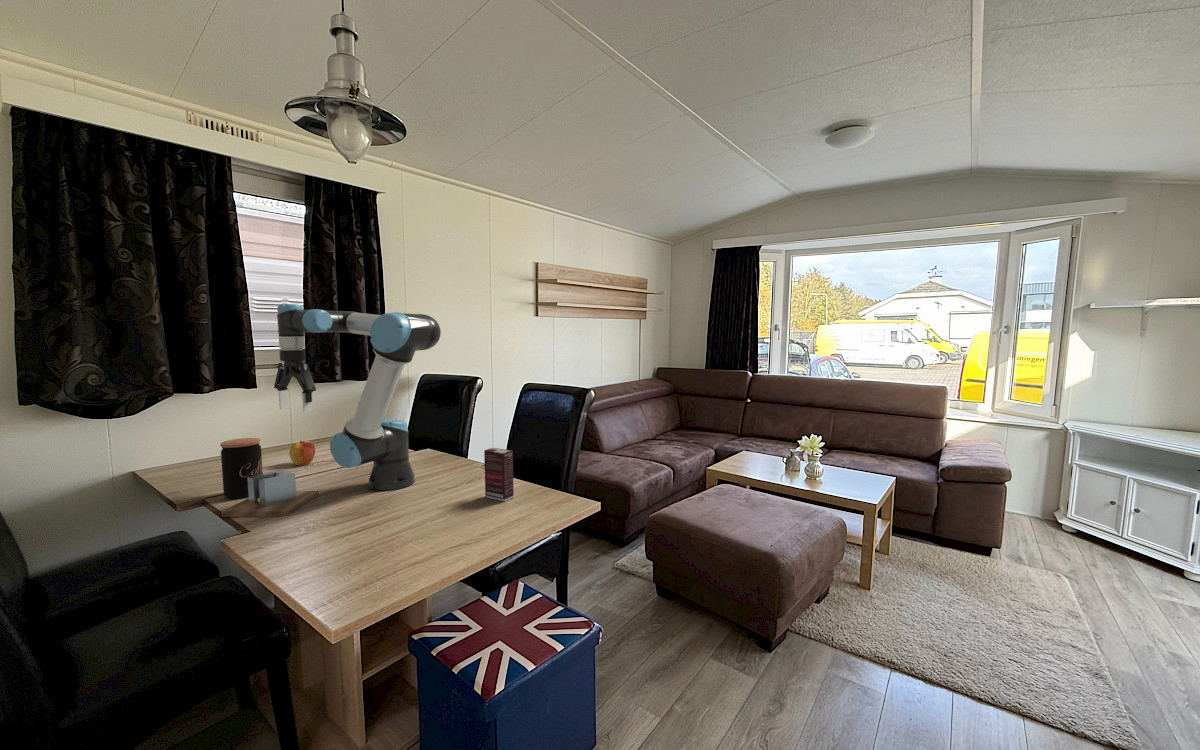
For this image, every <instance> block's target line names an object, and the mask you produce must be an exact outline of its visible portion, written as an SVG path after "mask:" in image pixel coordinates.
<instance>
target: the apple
mask: <svg viewBox="0 0 1200 750" xmlns="http://www.w3.org/2000/svg"><path fill="white" fill-rule="evenodd" d="M288 454H289V457H290V459H291V461H292V463H293V464H294V465H295V466H298V467H300V466H305V465H309V464H311V463H312V461H313V459H314V458H315V454H316V448H315V445H314V443H313V442H312V441H310V440H299V441H298V442H294V443H293V444H292V445H291V446H290V449H289V453H288Z"/></svg>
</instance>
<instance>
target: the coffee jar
mask: <svg viewBox="0 0 1200 750" xmlns="http://www.w3.org/2000/svg"><path fill="white" fill-rule="evenodd" d="M260 443H261V438H258V437H242V438H235V439H229V440H225V441H223V442H220V445H219V446H220V447H221V448H222V449H221V451H220V459H221V475H222V489H223V495H224V497H226V498H227V499H229V500H242V499H248V498H249V493H248V478H247V477H251V476H255V475H260V474H264V473H263V457H262V455H263V454H262V446H261V445H260Z"/></svg>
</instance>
